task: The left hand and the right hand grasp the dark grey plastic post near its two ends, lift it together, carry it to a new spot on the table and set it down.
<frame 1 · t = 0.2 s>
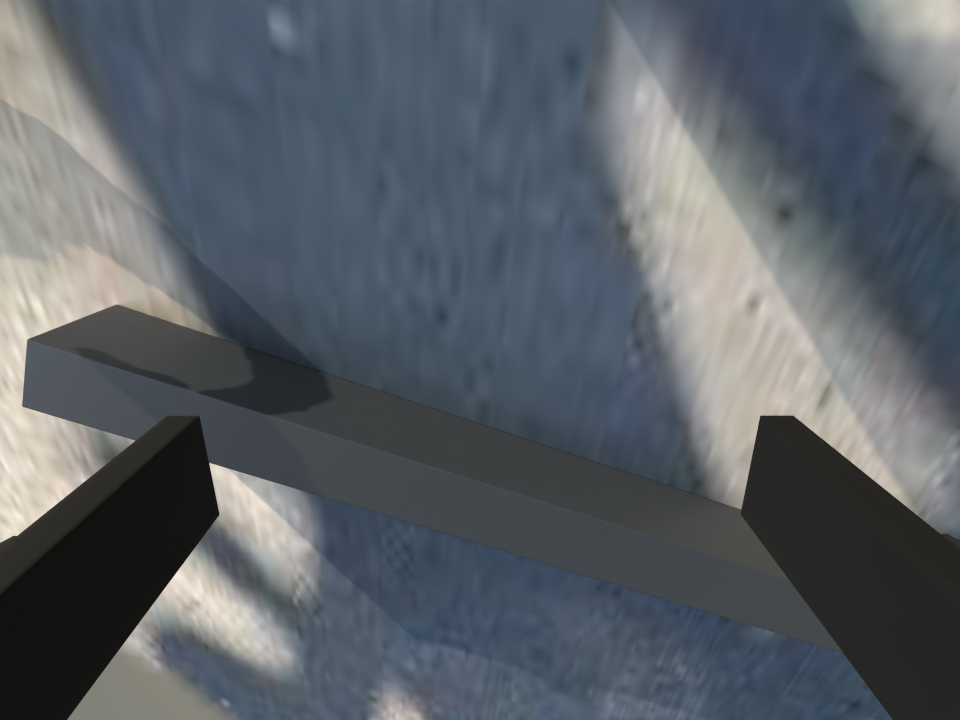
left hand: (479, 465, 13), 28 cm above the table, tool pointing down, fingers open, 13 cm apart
post: (501, 458, 44), on the table
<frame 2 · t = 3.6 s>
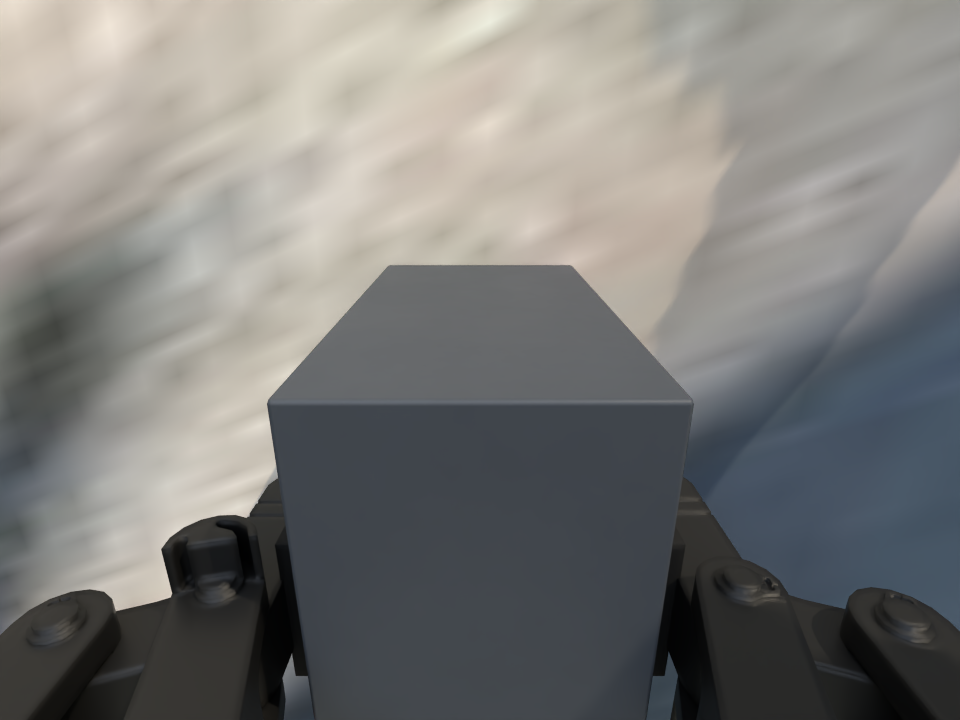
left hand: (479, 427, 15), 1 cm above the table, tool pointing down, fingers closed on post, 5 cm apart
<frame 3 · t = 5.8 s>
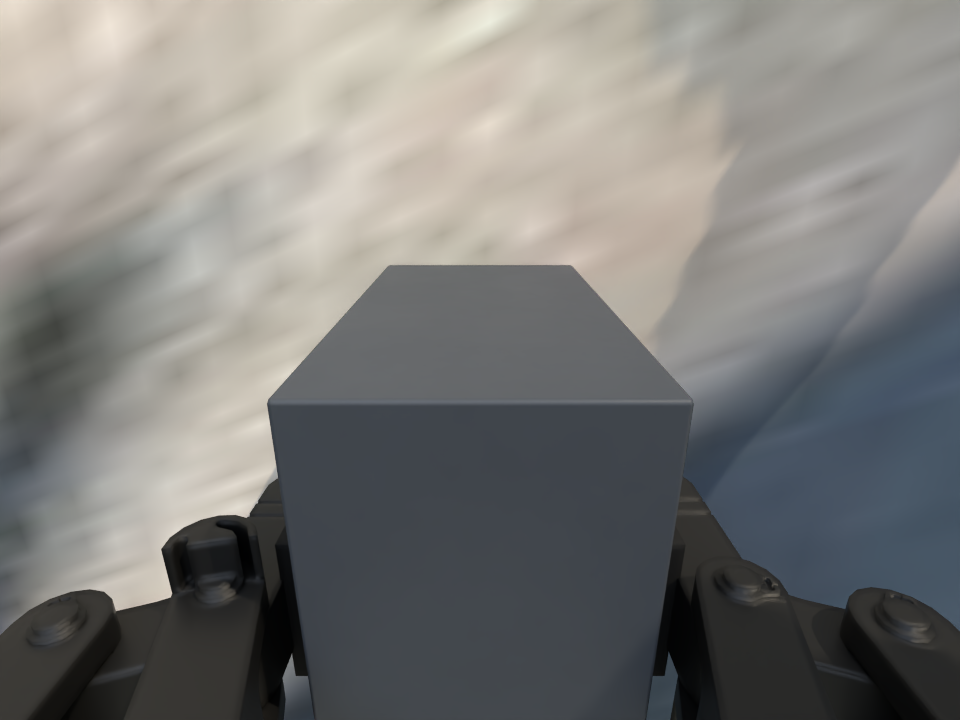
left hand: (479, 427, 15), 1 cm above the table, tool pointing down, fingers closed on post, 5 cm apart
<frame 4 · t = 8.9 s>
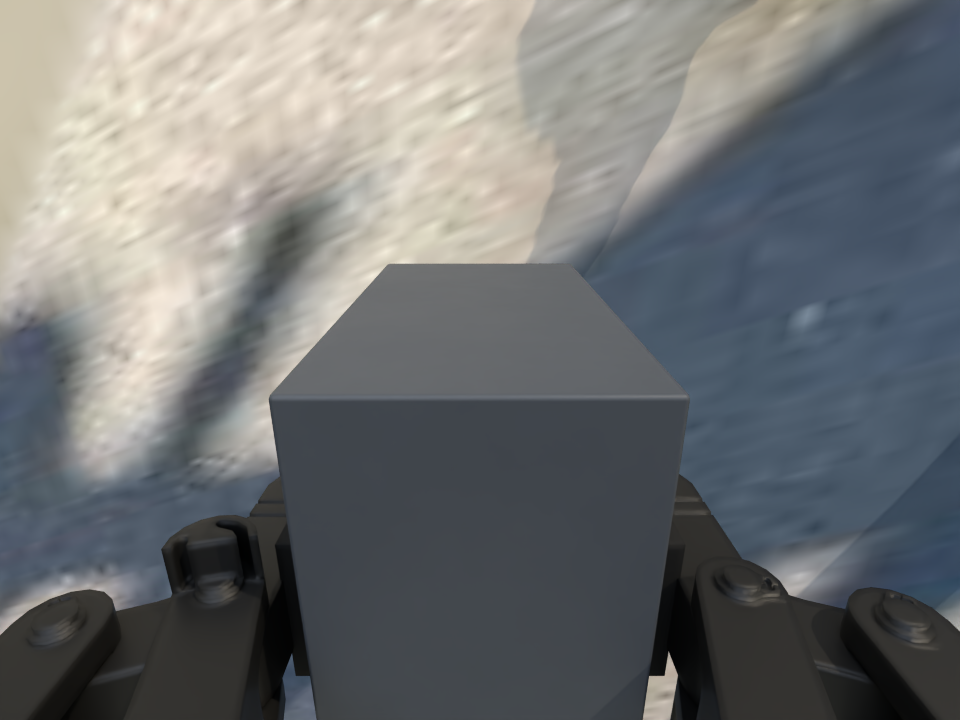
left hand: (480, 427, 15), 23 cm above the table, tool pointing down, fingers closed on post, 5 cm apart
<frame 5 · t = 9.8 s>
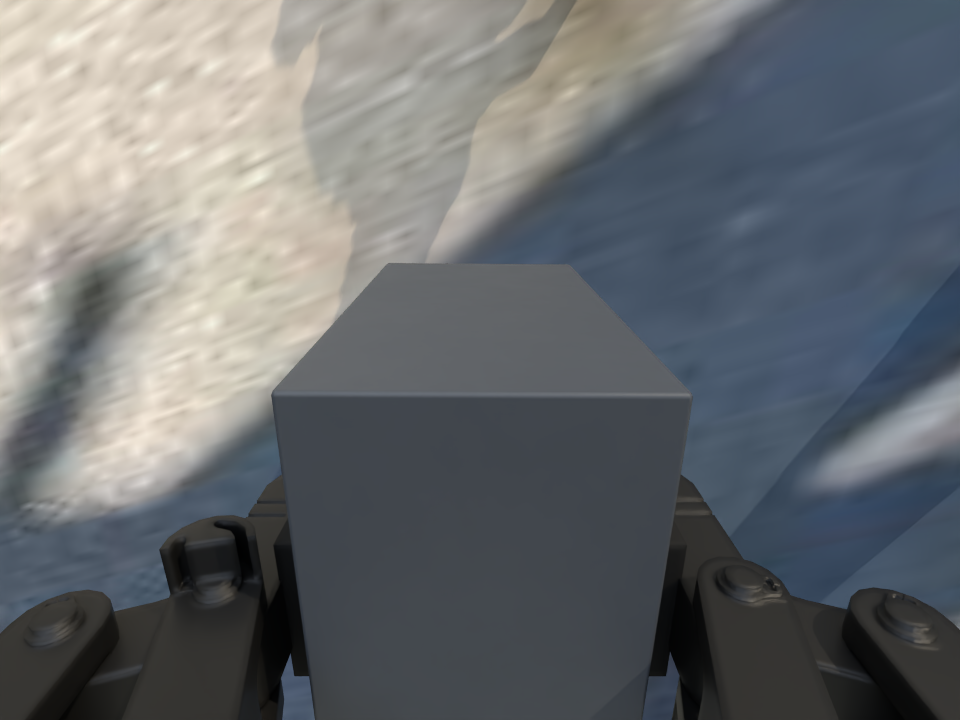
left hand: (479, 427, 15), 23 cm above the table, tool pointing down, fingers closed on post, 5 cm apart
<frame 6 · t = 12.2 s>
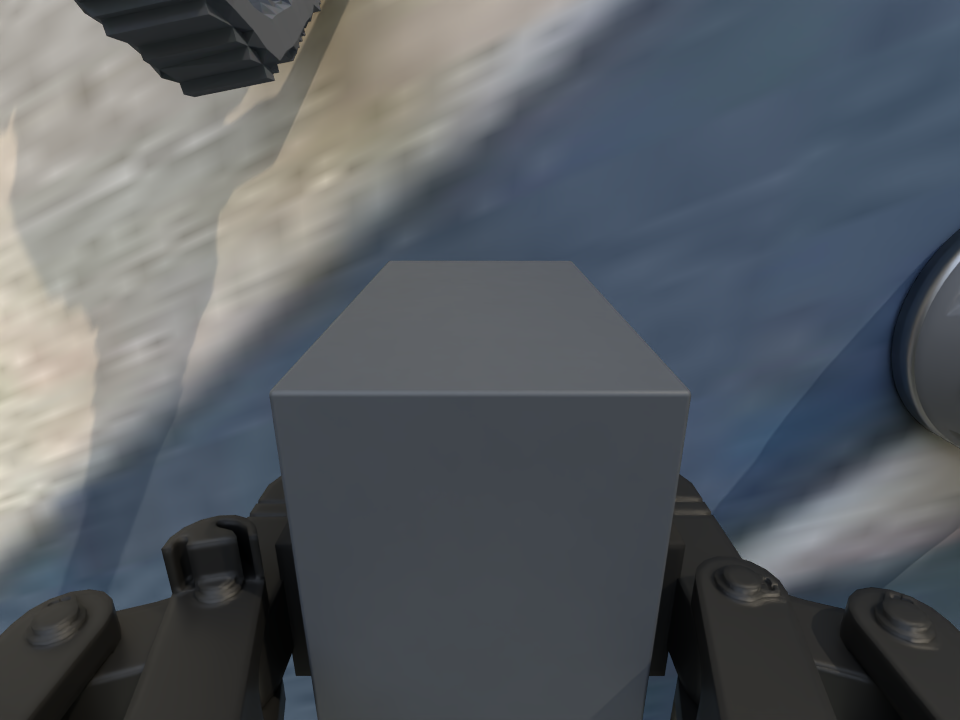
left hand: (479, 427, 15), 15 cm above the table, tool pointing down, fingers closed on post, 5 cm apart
when the left hand's fingers open (2 cm above the table, at t = 14.1 s): post drops 1 cm, on the table.
when the right hand's fingers open (5 cm above the table, at t = 14.2 s): post stays where it is, on the table.
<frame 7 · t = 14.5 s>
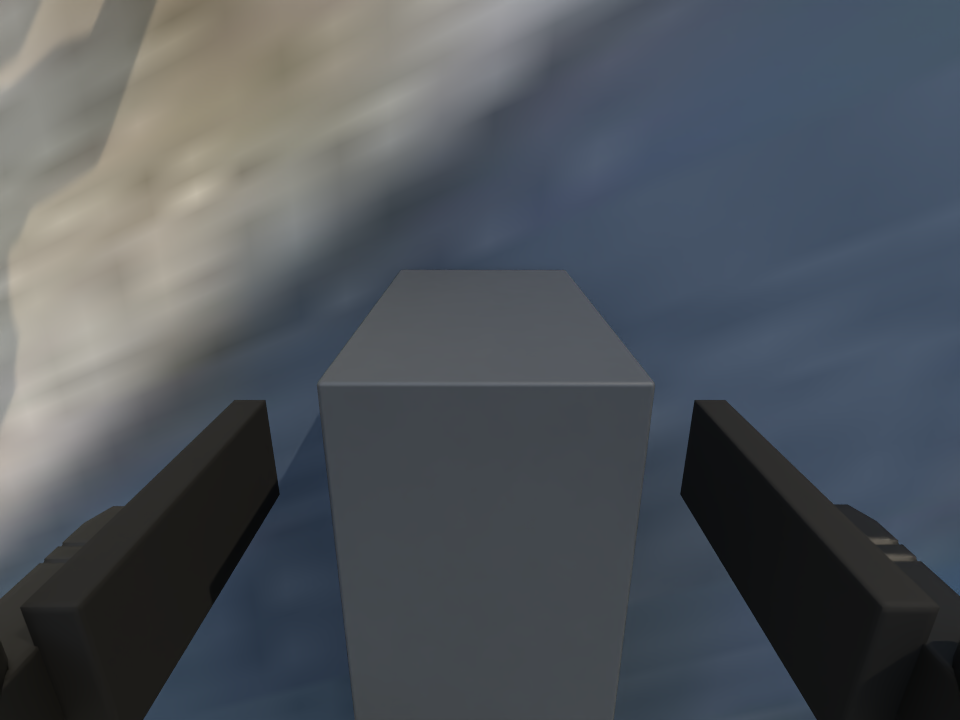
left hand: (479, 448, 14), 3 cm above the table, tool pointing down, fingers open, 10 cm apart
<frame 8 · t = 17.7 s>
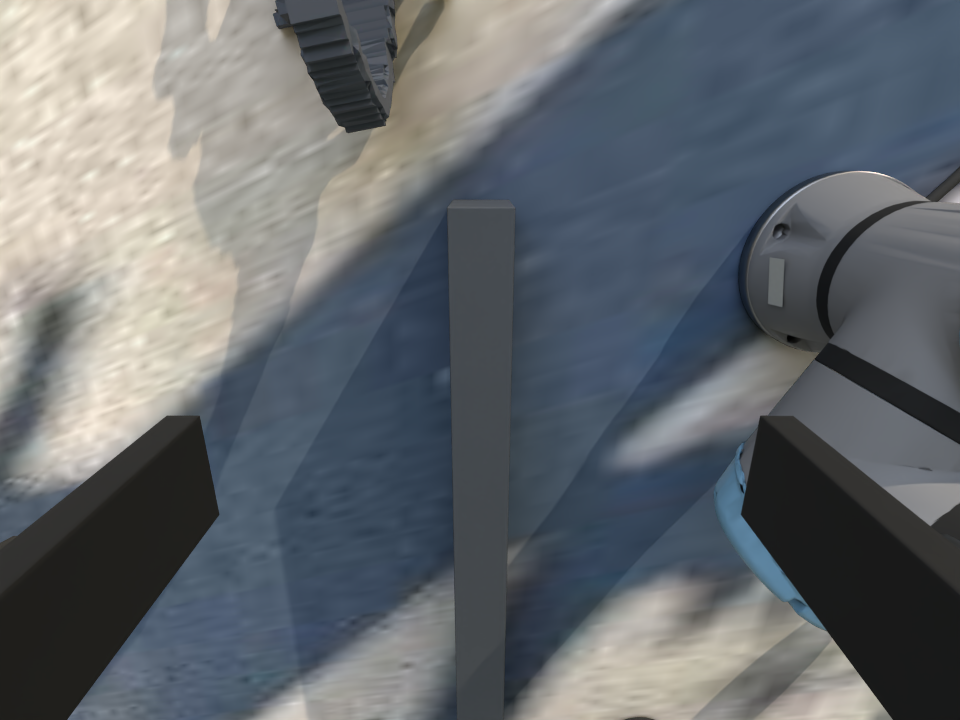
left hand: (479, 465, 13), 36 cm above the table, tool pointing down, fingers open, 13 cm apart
post: (480, 514, 56), on the table
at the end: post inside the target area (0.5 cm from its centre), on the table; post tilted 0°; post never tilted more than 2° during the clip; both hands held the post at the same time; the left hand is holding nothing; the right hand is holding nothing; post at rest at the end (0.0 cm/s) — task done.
